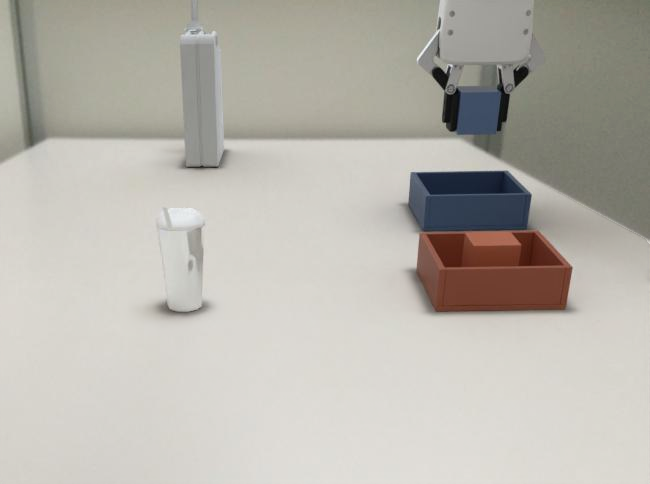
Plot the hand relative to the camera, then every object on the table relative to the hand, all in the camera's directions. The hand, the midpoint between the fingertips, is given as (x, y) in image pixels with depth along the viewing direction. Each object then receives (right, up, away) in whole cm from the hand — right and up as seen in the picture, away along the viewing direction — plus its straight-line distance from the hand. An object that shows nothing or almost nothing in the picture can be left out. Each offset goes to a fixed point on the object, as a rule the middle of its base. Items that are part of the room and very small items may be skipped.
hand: (473, 127), depth 113 cm
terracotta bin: (-3, -23, -17) cm, 29 cm away
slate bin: (0, -9, +6) cm, 10 cm away
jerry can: (-33, +11, +37) cm, 51 cm away
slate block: (0, 0, 0) cm, 0 cm away
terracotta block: (-3, -23, -17) cm, 29 cm away
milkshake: (-33, -26, -20) cm, 46 cm away
